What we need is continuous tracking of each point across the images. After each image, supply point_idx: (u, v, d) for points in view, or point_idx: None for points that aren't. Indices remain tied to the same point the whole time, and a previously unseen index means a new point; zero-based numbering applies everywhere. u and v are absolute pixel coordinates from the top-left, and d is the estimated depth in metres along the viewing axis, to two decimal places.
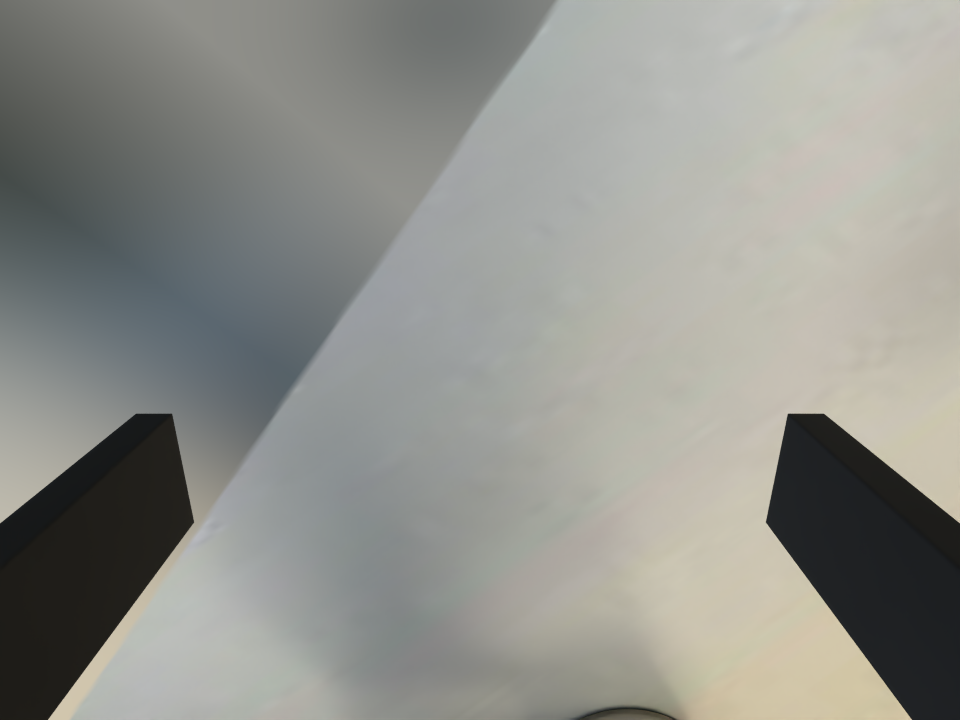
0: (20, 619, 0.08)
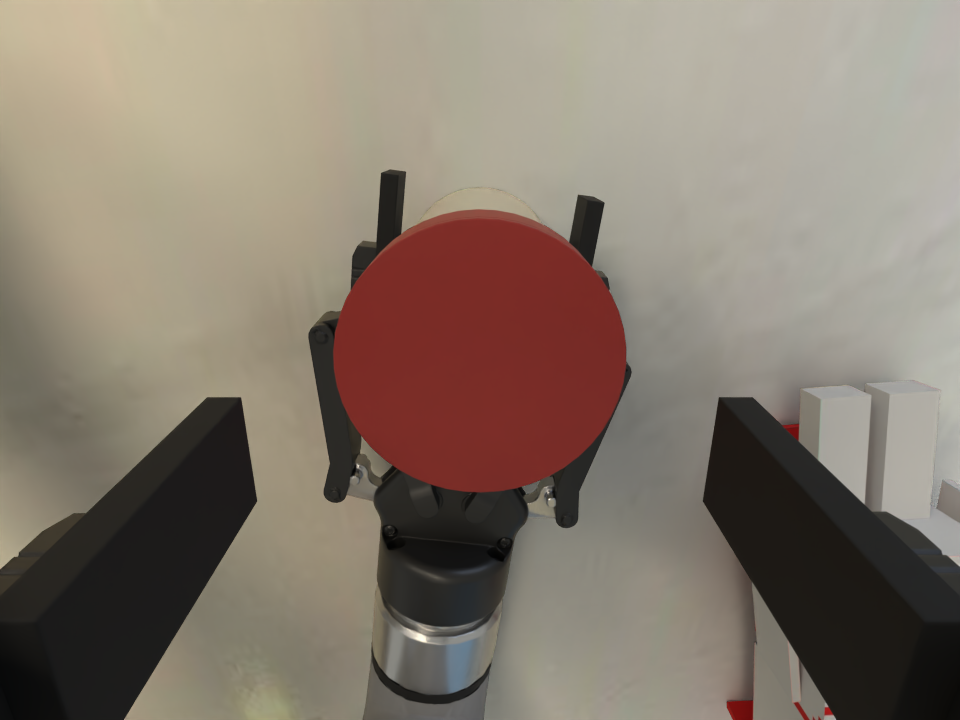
0: (133, 578, 0.09)
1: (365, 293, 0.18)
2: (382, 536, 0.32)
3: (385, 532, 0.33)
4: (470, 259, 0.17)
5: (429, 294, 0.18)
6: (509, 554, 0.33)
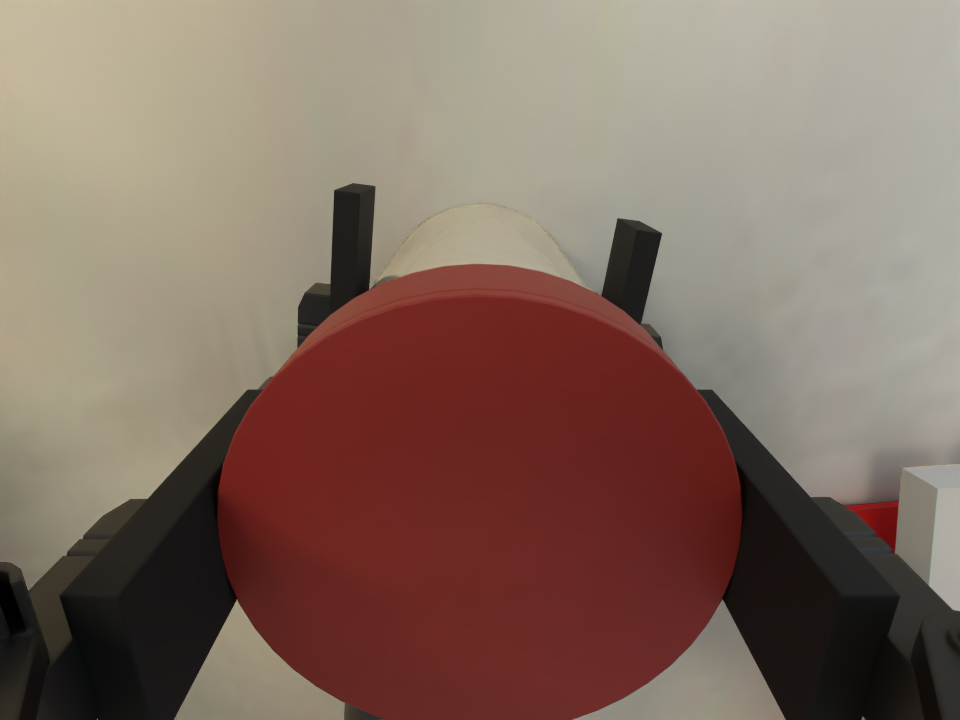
0: (194, 559, 0.09)
1: (267, 427, 0.10)
2: None
3: None
4: (461, 369, 0.09)
5: (386, 429, 0.10)
6: None
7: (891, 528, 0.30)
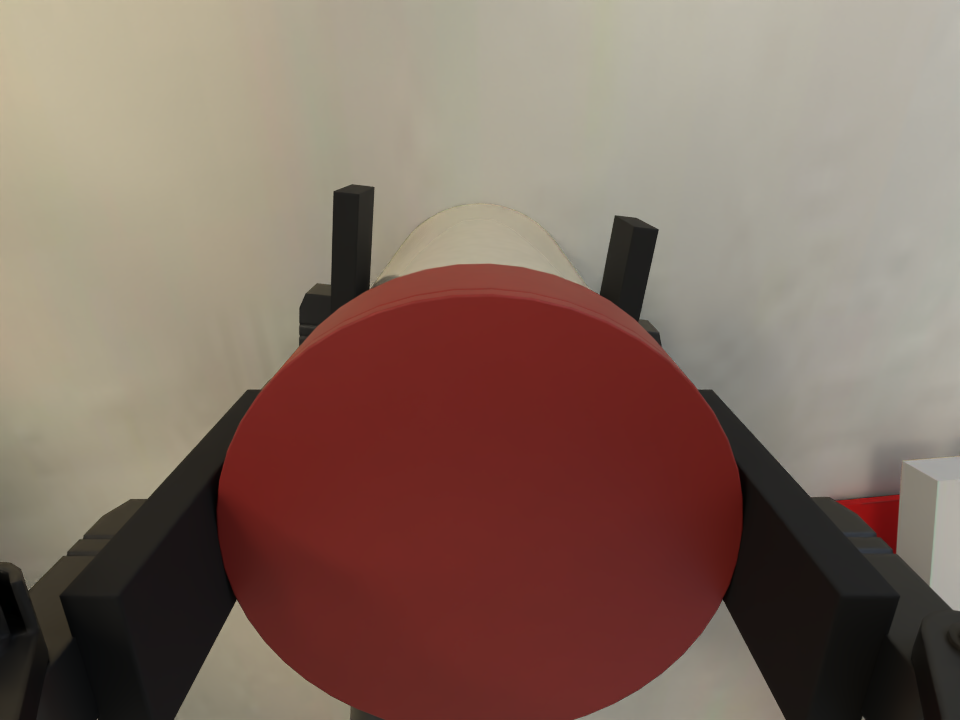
0: (194, 559, 0.09)
1: (532, 716, 0.12)
2: None
3: None
4: (375, 667, 0.11)
5: (459, 667, 0.11)
6: None
7: (893, 521, 0.30)
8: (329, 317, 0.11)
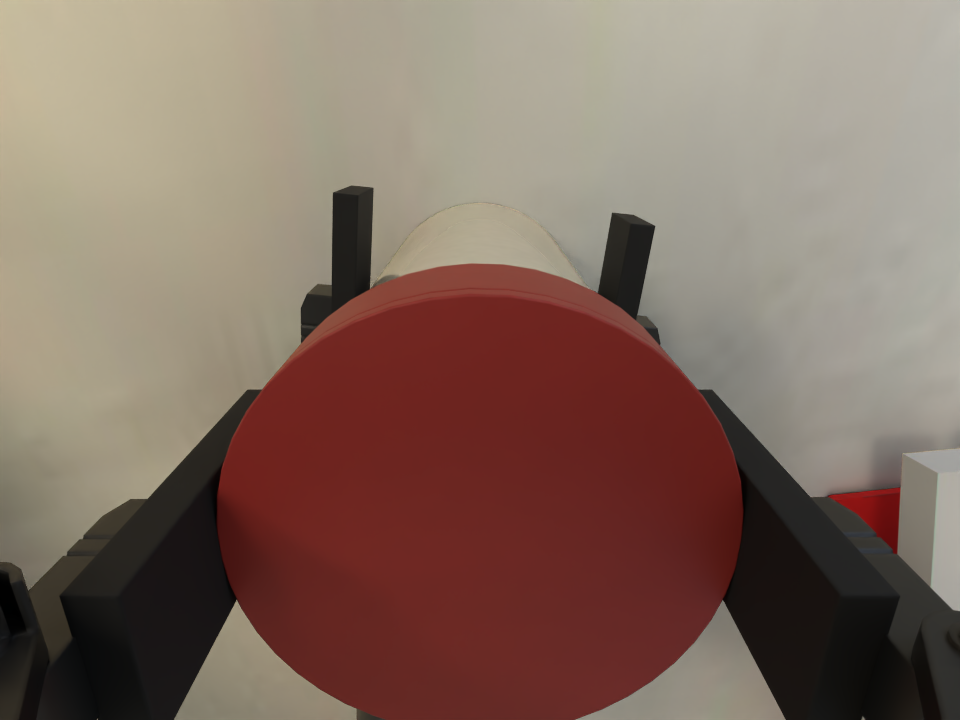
0: (194, 559, 0.09)
1: (600, 348, 0.09)
2: None
3: None
4: (674, 511, 0.10)
5: (607, 456, 0.10)
6: None
7: (894, 514, 0.30)
8: None
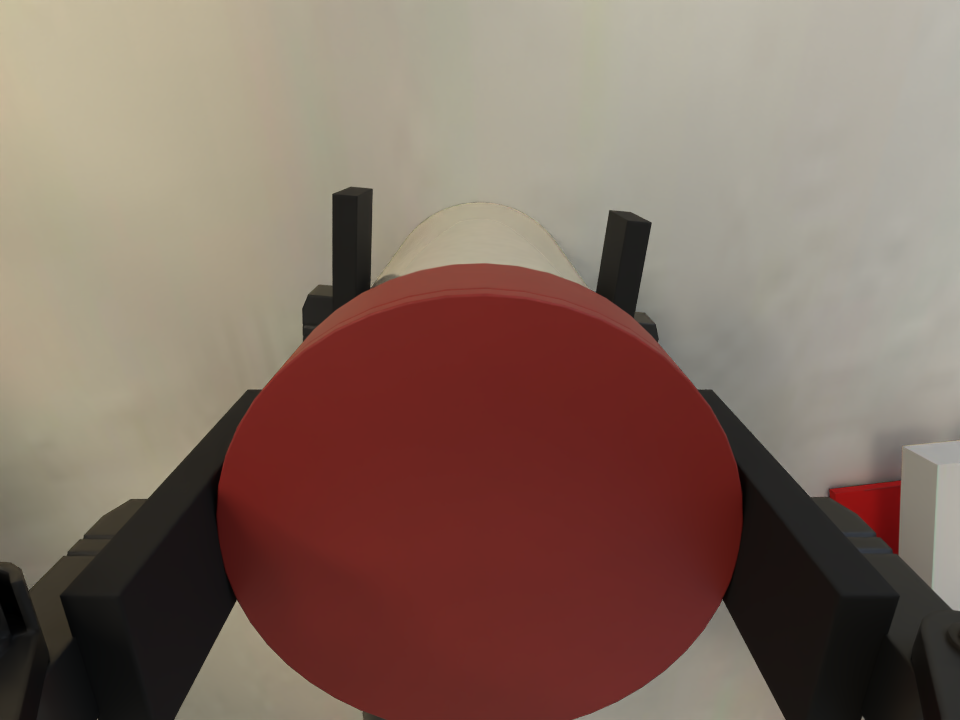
0: (194, 559, 0.09)
1: (272, 622, 0.11)
2: None
3: None
4: (296, 470, 0.10)
5: (321, 550, 0.10)
6: None
7: (895, 507, 0.30)
8: (648, 333, 0.11)
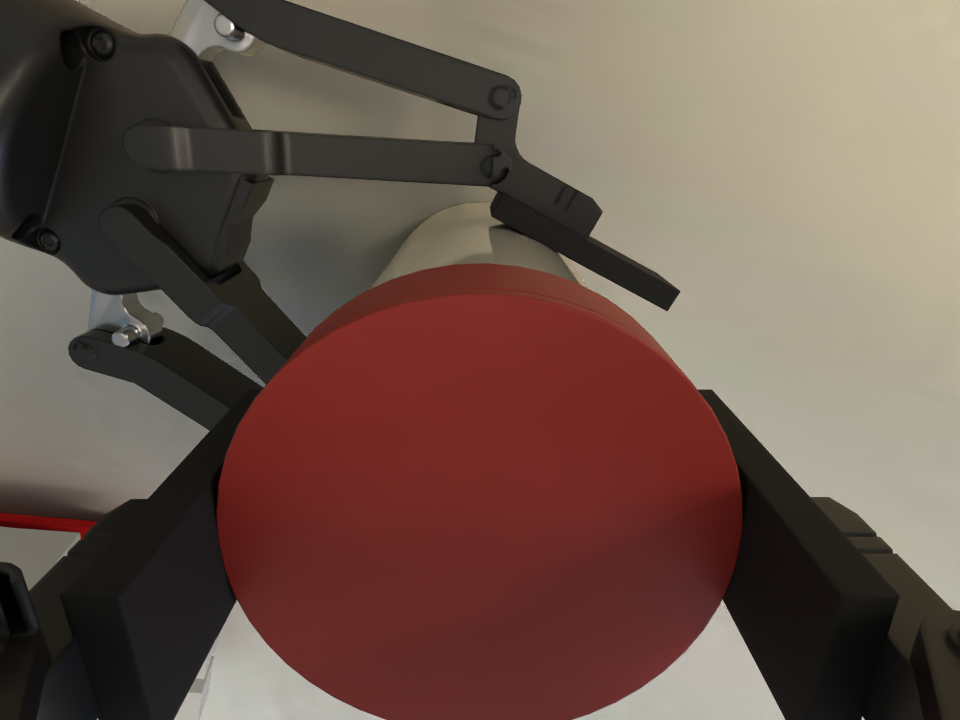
0: (195, 559, 0.09)
1: (272, 621, 0.11)
2: (90, 23, 0.17)
3: (97, 30, 0.17)
4: (297, 470, 0.10)
5: (320, 549, 0.10)
6: (23, 244, 0.19)
7: None
8: (649, 334, 0.11)
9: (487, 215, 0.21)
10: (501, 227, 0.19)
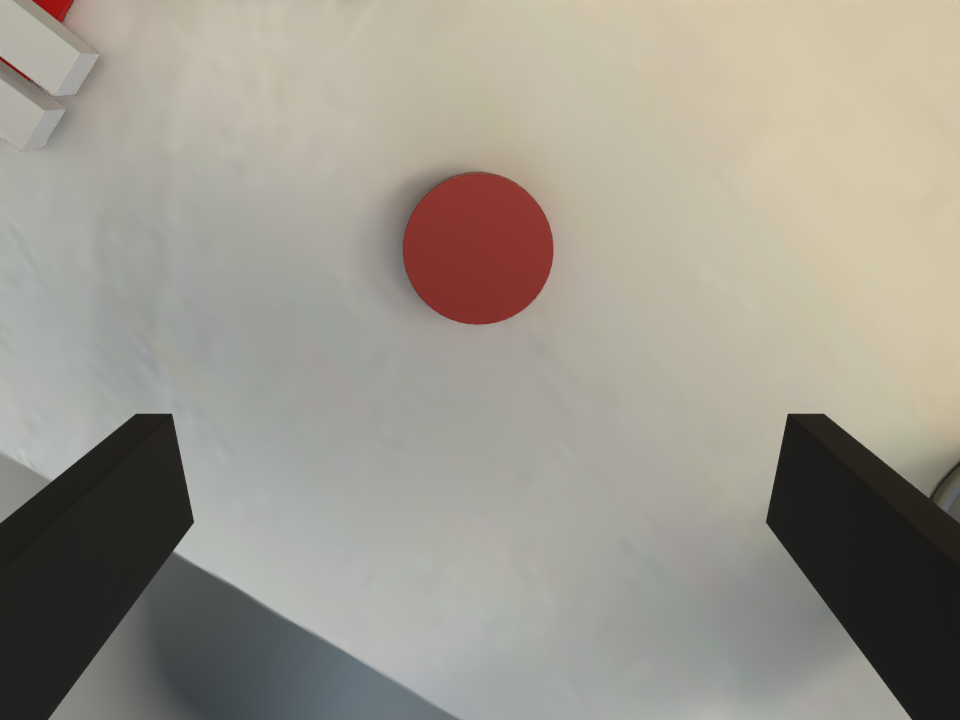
0: (20, 619, 0.08)
1: (416, 279, 0.37)
2: None
3: None
4: (427, 226, 0.36)
5: (432, 253, 0.36)
6: None
7: None
8: None
9: None
10: None
